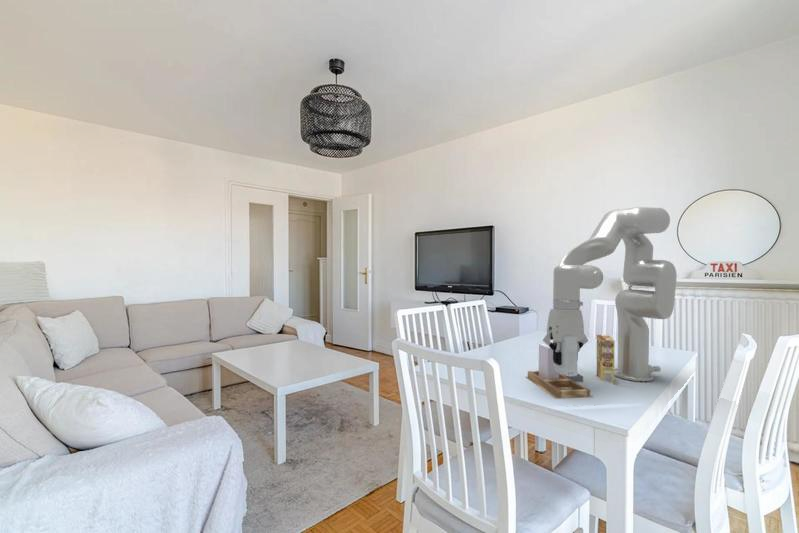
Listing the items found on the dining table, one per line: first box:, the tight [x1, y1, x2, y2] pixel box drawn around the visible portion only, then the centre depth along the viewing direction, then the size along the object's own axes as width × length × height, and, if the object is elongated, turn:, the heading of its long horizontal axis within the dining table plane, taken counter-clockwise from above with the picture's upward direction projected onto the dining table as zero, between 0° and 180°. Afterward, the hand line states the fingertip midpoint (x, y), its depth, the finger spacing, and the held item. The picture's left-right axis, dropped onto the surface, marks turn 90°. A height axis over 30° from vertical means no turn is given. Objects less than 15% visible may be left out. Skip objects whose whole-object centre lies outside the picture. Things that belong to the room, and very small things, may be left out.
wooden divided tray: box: [525, 370, 594, 400], centre depth 119 cm, size 12×20×3 cm, turn 6°
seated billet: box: [538, 343, 559, 379], centre depth 124 cm, size 4×6×12 cm, turn 6°
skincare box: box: [554, 336, 578, 376], centre depth 114 cm, size 6×4×12 cm
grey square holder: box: [562, 372, 584, 383], centre depth 126 cm, size 5×5×3 cm
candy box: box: [596, 334, 615, 385], centre depth 128 cm, size 9×4×15 cm, turn 162°
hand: (565, 363), depth 114 cm, fingers closed on skincare box, 4 cm apart
